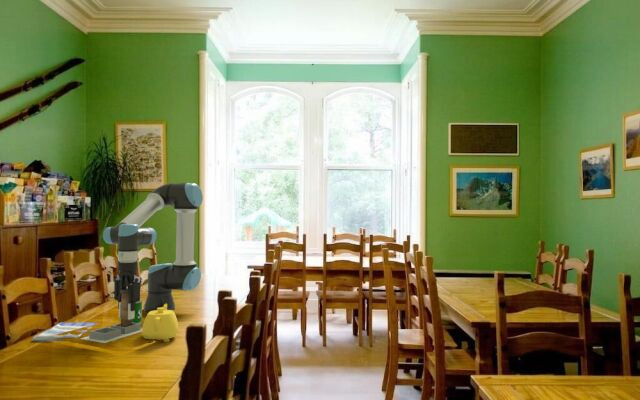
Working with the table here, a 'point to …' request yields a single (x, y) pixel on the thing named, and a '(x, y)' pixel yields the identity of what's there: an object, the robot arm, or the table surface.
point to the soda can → (138, 312)
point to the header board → (113, 332)
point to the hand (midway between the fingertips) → (126, 318)
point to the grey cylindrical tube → (125, 308)
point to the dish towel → (61, 331)
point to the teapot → (160, 324)
